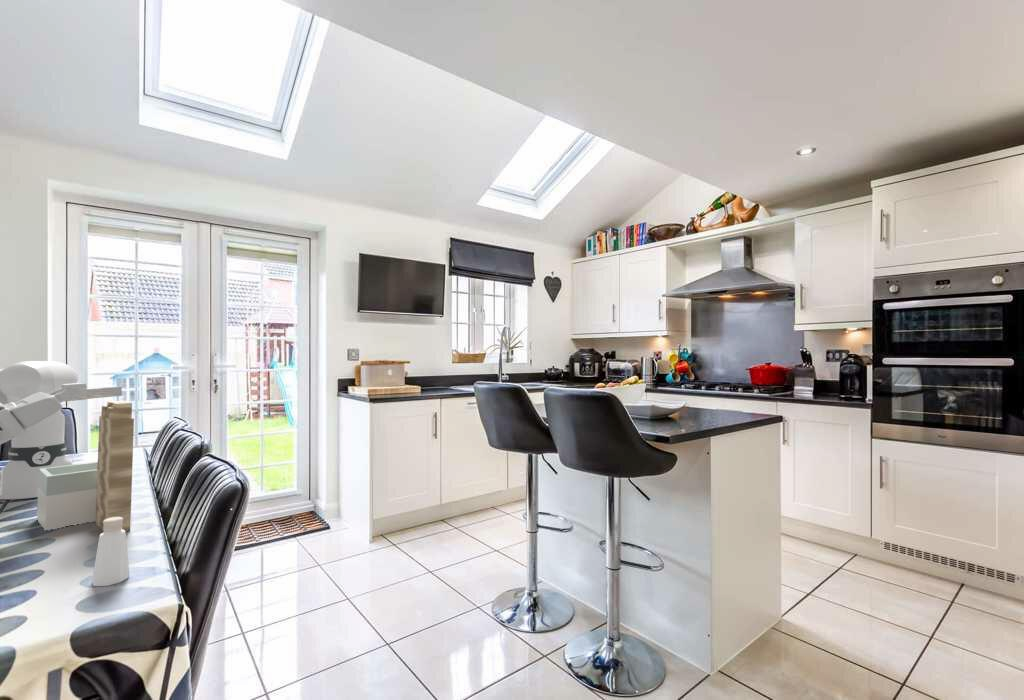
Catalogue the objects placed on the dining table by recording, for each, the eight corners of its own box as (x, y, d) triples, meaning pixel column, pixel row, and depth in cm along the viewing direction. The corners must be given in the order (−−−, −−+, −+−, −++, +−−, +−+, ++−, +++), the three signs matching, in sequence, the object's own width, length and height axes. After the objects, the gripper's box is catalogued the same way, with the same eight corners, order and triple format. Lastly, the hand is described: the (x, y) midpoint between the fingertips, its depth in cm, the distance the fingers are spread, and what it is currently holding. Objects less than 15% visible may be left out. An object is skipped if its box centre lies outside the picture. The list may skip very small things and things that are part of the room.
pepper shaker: (85, 589, 81) (87, 525, 82) (98, 576, 86) (100, 515, 87) (124, 583, 84) (126, 521, 84) (134, 571, 89) (136, 512, 89)
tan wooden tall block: (95, 523, 114) (99, 401, 114) (116, 519, 117) (120, 400, 118) (108, 535, 106) (112, 404, 107) (130, 530, 109) (134, 403, 110)
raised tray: (36, 519, 116) (38, 468, 116) (117, 505, 128) (118, 459, 128) (45, 531, 108) (47, 476, 109) (129, 514, 120) (131, 465, 121)
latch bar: (62, 400, 116) (61, 384, 116) (118, 395, 125) (118, 380, 125) (65, 401, 114) (64, 385, 114) (123, 395, 122) (122, 380, 122)
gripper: (7, 428, 115) (74, 397, 124) (17, 437, 102) (91, 401, 111) (-12, 406, 112) (58, 376, 122) (-3, 413, 100) (74, 379, 109)
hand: (74, 388), depth 116 cm, fingers closed on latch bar, 4 cm apart
